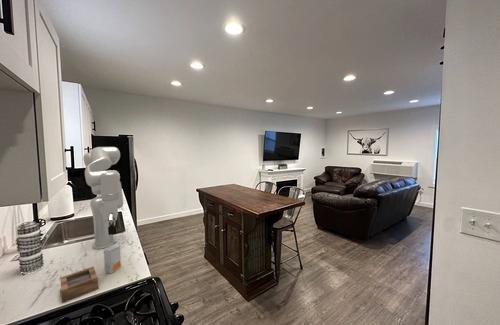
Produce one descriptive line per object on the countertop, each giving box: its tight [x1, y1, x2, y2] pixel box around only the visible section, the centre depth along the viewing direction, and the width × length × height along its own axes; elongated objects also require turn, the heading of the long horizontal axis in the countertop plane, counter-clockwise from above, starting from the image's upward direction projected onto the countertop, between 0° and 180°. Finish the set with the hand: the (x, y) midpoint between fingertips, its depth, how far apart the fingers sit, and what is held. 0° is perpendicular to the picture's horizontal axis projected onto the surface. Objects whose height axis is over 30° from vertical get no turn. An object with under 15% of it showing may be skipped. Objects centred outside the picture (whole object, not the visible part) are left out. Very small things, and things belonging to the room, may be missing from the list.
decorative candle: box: [15, 221, 45, 275], centre depth 106 cm, size 9×9×25 cm
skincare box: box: [103, 244, 122, 274], centre depth 106 cm, size 6×4×12 cm
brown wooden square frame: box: [59, 266, 99, 304], centre depth 93 cm, size 12×12×5 cm
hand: (113, 230), depth 103 cm, fingers open, 9 cm apart
